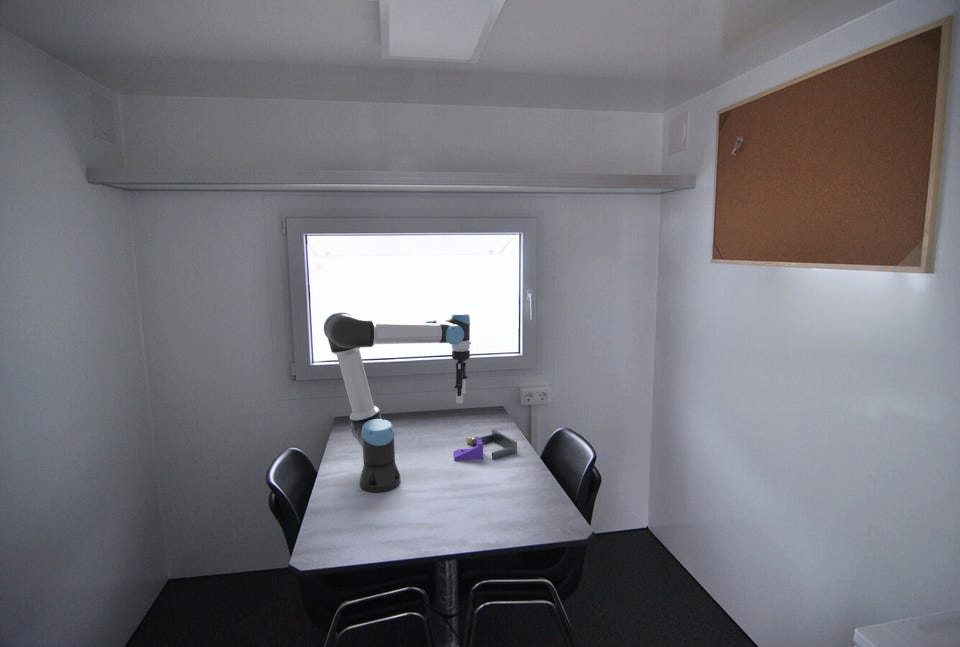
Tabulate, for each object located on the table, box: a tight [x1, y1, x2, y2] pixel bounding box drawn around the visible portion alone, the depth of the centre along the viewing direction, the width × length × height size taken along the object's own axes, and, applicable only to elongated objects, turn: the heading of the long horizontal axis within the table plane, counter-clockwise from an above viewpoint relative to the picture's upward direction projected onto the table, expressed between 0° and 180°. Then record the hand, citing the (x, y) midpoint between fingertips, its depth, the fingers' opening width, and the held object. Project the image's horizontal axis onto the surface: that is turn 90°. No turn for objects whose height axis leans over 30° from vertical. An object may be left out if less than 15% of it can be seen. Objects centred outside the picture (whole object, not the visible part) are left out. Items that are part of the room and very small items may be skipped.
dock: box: [470, 429, 518, 461], centre depth 223 cm, size 12×18×5 cm
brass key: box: [465, 435, 479, 445], centre depth 231 cm, size 6×3×3 cm, turn 142°
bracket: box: [453, 439, 484, 462], centre depth 216 cm, size 12×7×7 cm, turn 96°
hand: (461, 398), depth 219 cm, fingers open, 13 cm apart
